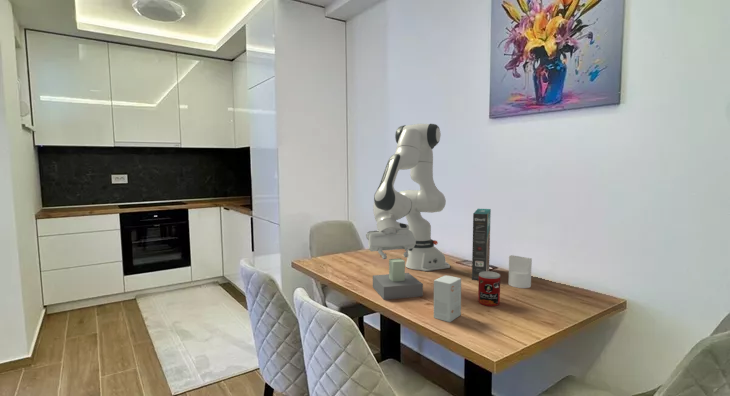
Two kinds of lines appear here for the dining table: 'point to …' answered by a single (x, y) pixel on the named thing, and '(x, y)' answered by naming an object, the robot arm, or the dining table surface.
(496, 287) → the canned food
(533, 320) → the dining table surface
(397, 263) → the sage block
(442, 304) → the small box
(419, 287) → the stand
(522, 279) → the base with upright slab
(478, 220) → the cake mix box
